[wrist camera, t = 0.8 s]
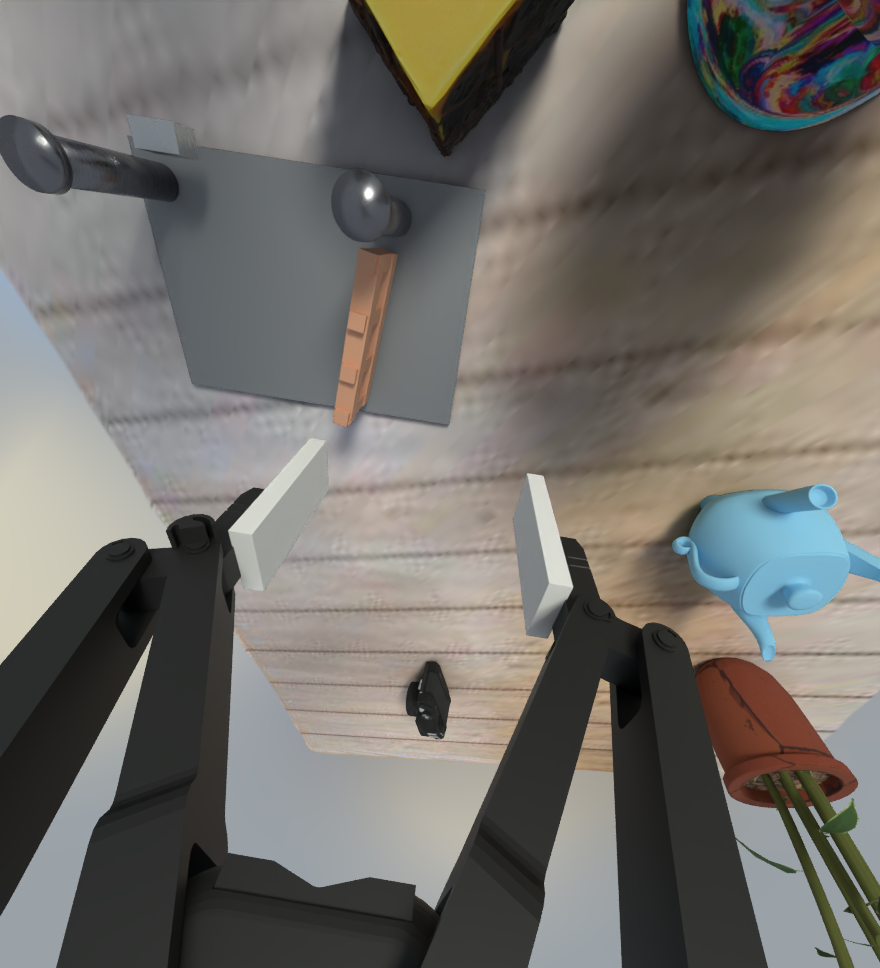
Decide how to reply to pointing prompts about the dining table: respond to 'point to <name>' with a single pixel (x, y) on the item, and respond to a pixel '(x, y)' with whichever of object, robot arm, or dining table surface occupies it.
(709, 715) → the potted plant
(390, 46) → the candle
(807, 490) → the teapot
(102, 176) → the latch post
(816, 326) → the dining table surface
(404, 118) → the dining table surface
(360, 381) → the gate
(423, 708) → the film camera
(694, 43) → the vase
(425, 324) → the mat
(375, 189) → the glossy grey waisted cylinder
